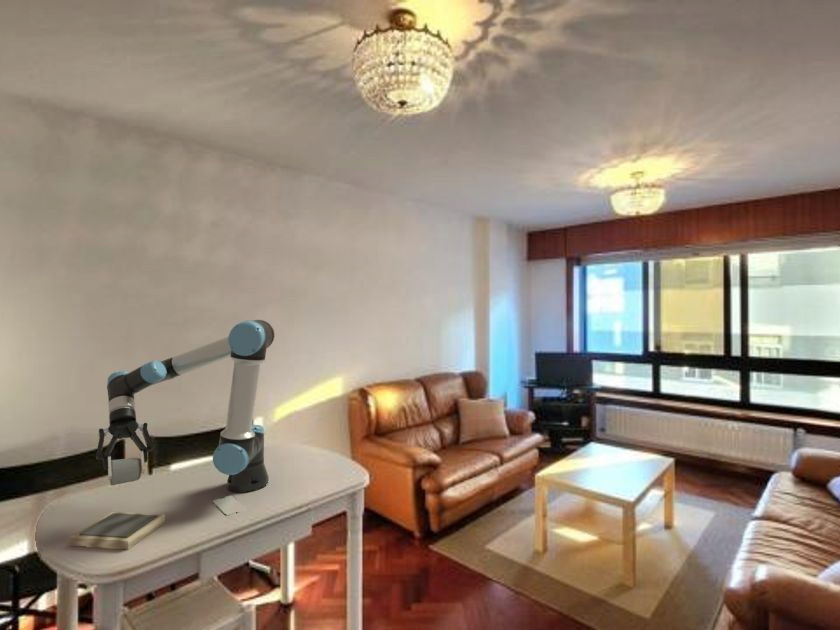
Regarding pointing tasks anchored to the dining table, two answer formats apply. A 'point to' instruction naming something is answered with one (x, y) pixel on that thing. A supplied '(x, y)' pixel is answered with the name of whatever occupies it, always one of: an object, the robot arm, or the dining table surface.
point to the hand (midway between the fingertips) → (127, 474)
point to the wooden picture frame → (118, 530)
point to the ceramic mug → (125, 470)
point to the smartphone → (225, 503)
